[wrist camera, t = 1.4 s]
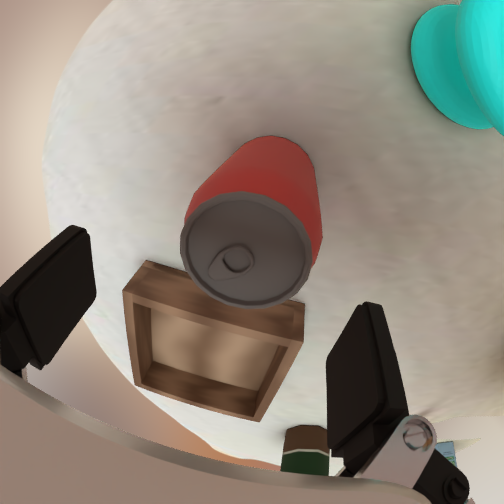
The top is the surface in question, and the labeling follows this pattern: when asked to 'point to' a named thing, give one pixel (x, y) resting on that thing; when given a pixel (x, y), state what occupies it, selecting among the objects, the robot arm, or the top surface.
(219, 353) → the walnut box
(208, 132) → the top surface
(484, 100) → the donuts
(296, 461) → the beer bottle
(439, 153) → the top surface
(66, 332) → the robot arm
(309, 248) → the beer can
